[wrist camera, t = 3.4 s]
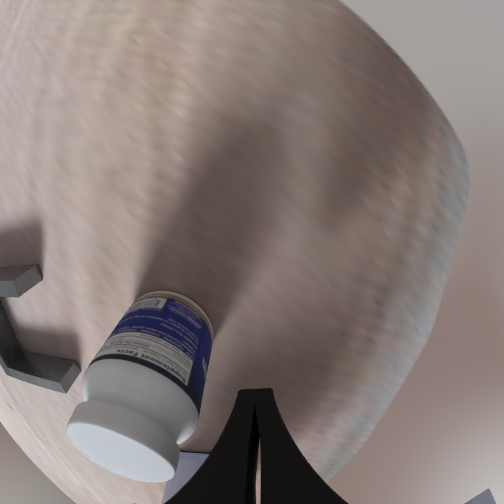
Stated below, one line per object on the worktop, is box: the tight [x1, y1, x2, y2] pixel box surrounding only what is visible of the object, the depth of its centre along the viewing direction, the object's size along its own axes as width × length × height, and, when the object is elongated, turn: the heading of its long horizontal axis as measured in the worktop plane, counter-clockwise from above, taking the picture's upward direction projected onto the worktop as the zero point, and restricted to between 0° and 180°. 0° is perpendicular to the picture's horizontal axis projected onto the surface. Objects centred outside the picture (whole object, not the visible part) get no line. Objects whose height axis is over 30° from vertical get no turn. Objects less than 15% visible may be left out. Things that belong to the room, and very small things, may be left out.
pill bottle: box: [67, 291, 213, 482], centre depth 12 cm, size 6×6×10 cm
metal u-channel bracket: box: [0, 265, 81, 394], centre depth 16 cm, size 10×9×3 cm
